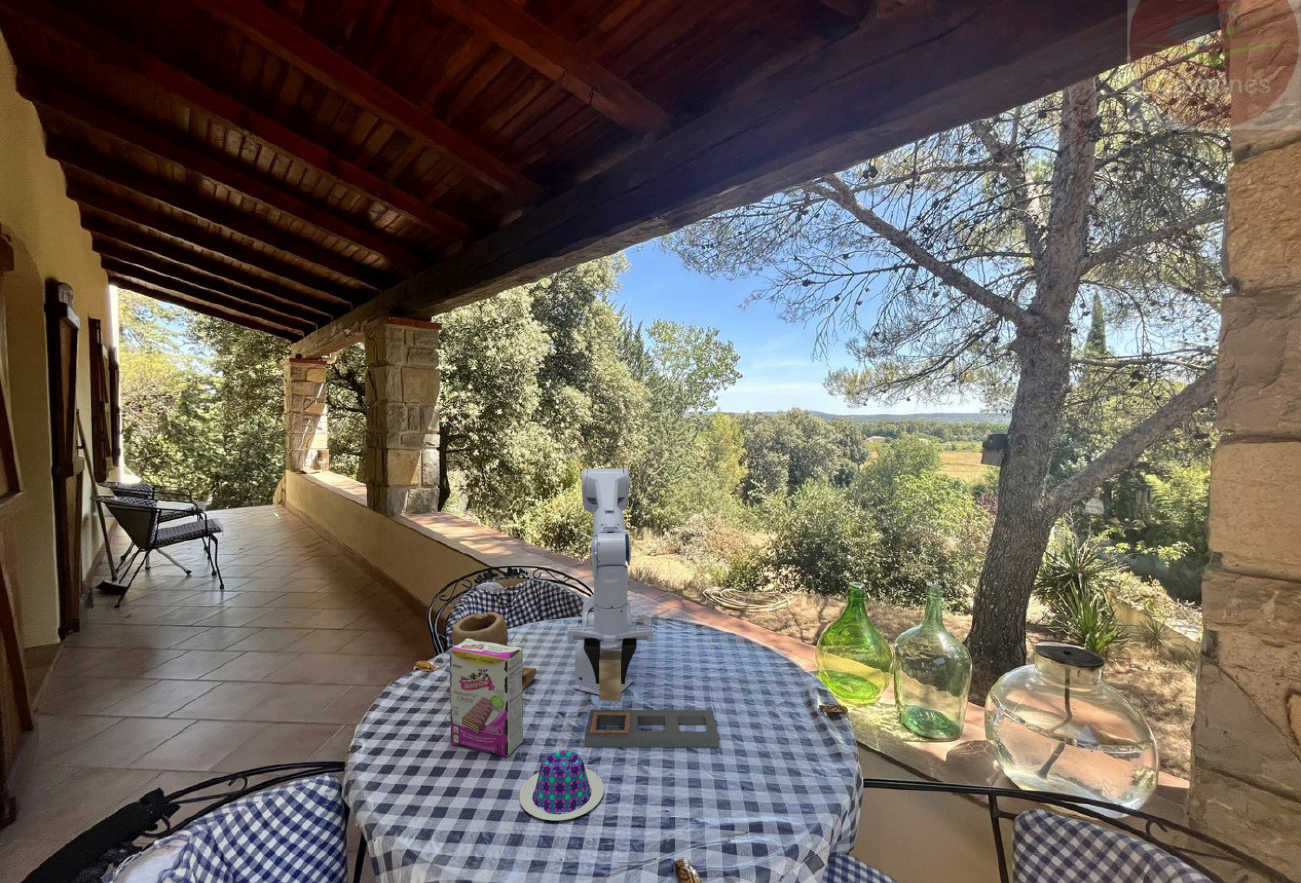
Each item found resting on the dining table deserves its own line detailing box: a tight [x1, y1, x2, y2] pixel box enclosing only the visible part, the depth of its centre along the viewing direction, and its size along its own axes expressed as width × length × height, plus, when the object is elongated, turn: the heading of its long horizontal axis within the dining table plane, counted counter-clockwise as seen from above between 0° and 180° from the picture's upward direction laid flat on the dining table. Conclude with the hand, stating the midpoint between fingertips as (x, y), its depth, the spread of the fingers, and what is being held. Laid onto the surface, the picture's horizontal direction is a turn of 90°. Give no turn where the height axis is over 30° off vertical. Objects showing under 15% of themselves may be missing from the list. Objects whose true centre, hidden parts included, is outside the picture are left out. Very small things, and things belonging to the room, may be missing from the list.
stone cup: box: [451, 611, 538, 690], centre depth 114 cm, size 15×12×15 cm
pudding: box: [519, 749, 605, 821], centre depth 83 cm, size 12×12×5 cm
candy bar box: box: [449, 638, 524, 758], centre depth 95 cm, size 11×5×16 cm, turn 71°
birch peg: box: [598, 651, 623, 702], centre depth 99 cm, size 4×4×7 cm
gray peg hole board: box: [583, 709, 720, 748], centre depth 99 cm, size 22×9×2 cm, turn 90°
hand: (610, 681), depth 99 cm, fingers closed on birch peg, 4 cm apart
